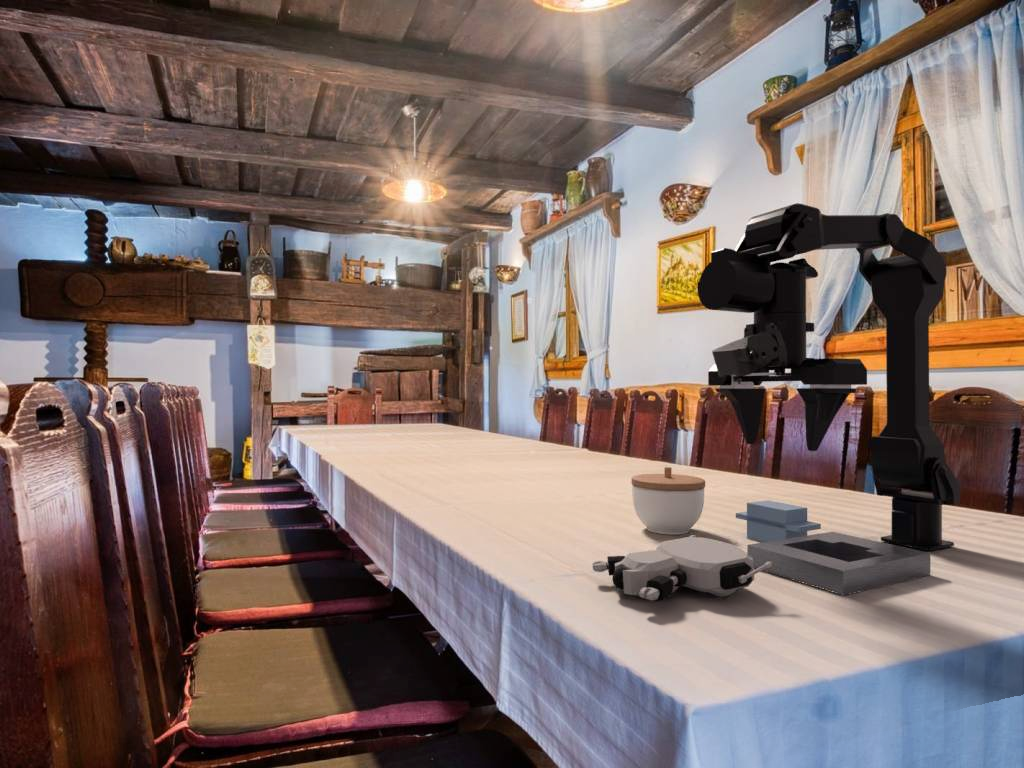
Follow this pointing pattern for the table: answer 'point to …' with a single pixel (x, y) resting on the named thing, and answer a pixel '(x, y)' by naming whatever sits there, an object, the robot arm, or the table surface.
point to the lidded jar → (668, 501)
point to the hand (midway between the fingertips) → (779, 447)
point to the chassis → (840, 561)
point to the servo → (776, 521)
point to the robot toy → (682, 568)
